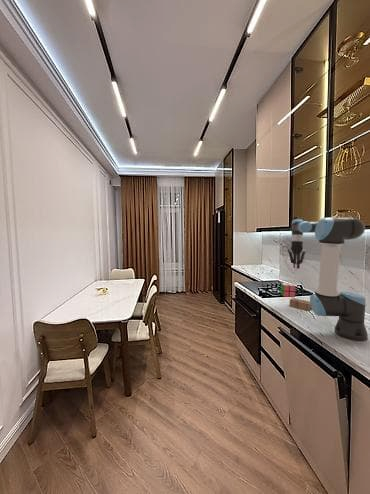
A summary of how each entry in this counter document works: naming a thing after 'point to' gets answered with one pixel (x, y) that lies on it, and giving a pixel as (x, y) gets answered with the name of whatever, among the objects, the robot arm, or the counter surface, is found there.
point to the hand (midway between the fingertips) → (296, 272)
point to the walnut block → (300, 304)
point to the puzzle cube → (288, 289)
